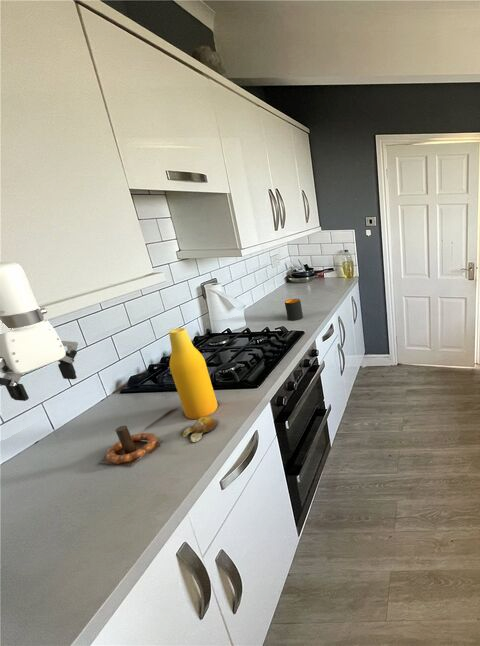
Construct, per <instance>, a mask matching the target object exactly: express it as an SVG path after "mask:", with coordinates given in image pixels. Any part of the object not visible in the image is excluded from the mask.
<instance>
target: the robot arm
mask: <svg viewBox="0 0 480 646" xmlns="http://www.w3.org/2000/svg"><path fill="white" fill-rule="evenodd" d="M47 313H48V310H47V308H45V307H39V304H38V302H37V299H36V296H35V294H34V293H33V290H32V287H31V284H30V281H29V280H28V277H27V275H26V272H25V270H24V268H23V267H22V265H20V264H19V263H18V262H13V261H0V320H1V321H2V323H4V324H5V325H6V326H7V327H8V328H11V329H10V330H12V328H13V329H17V330H14V331H9V332H6V333H3V334H0V374H3V376H2V377H1V376H0V385H1V386H3V387H5V388H6V390H7V393H8V394H9V396H10V399H13V400H14V401H22V402H26V401H29V399H30V397H29V395H28V393H27V391H26V388H25V386H24V385H23V383H19V382H20V381H21V378H22V376H23V374H27V373H29V372H32V371H35V370H37V369H41V368H43V367H46V366H48V365H51V364H53V363H56V362H58V365H57V367H58V369H59V371H60V374H61V376H62V379H64V380H76V379H77V378H78V377H77V374H76V373H77V372H76V369H75V367H74V363H75V358H76V355H77V354H78V351H77V350H78V346H79V343H78V342H77V341H72V340H71V341H70V340H69V341H67V340H61V338H60V336H59V335H58V333H57V331H56V330H55V327H54V326H53V325H52V324H51V323H50V321H49V320H48V319H44V318H45V316H44V315H45V314H47ZM44 320H46V321H44ZM24 326H26V327H24ZM65 347H66V349H67V350H66V349H65Z"/></svg>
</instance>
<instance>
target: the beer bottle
mask: <svg viewBox="0 0 480 646" xmlns="http://www.w3.org/2000/svg"><path fill="white" fill-rule="evenodd" d="M168 336H169V342H170V347H171V354H170V358H169V370H170V373H171V376H172V379H173V382H174V386H175V388H176V391H177V394H178V397H179V400H180V404H181V406H182V410H183V413H184V416H185V417H186V418H187V419H189V420H198V419H199V418H202V417H209V416H210V415H212V414H213V413H215V412H216V410H217V409H218V401H217V398H216V395H215V391H214V387H213V384H212V380H211V377H210V374H209V371H208V367H207V363H206V360H205V358H204V356H203V354H202V352H200V351H199V350H198V349H197V348H196V347H195V346H194V344H193V342H192V340H191V338H190V335H189V333H188V331H187V329H186V328H185V327H177V328H173V329H171V330H169V331H168Z"/></svg>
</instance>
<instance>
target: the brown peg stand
mask: <svg viewBox="0 0 480 646" xmlns="http://www.w3.org/2000/svg"><path fill="white" fill-rule="evenodd" d="M114 431H115V433H116V436H117V438H118V441H120V443H121V445H122V447H123V448H121V449H120V450H118V451H117V453H116V455H125V454H129V453H132V452H134V451H136V450H139V449H140V448H142V447H143V446H144V445H146V444H147V442H148V441H147V440H141V441H136V442H133V440H132V438H131V432H130V430H129V427H128V426H127V425H120V426H118V427H117V428H115V430H114ZM160 447H161V444H160V442H159V441H157V443H156V444H155V446H154V448H153V449H151V450H150V451H149V452H148V453H146V454H145V455H147V454H153V453H154V452H155V451H156V450H158V449H159V448H160ZM145 455H143V456H141V457H139V458H137V459H135V460H133V461H129V462H125V463H120V464H117V463H109V462H108V461H107V460H106V458H105V459H104V460H103V461H101V462H100V464H101V465H109V466H111V465H113V466H121V467H123V466H124V467H132V466H133V465H134V464H135V463H136V462H138V461H139V460H141V459H142V458H143V457H144V456H145Z"/></svg>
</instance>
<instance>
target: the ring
mask: <svg viewBox="0 0 480 646" xmlns="http://www.w3.org/2000/svg"><path fill="white" fill-rule="evenodd" d="M130 435H131V434H130ZM131 438H132V440H133V442H136V441H147V444H146V445H144V446H143V447H142V448H140V449H139V450H136V451H134V452H132V453H129V454H125V455H116V453H117V451H118V450H120V449H121V448H123V447H122V445H121V443H120V440H118V441H117V442H116V443H114V444H112V445H111V446H110V447H109V448H108V450H107V451H106V452H105V454H104V458H105V459H106V460H107V461H108V462H109V463H117V464H120V463H125V462H129V461H133V460H135V459H137V458H139V457H141V456H143V455H144V456H145V455H147V454H149V453H148V452H149V451H150V450H151V449H153V448H154V446H155V444H156V443H157V442H158V441H159V440H158V437H157V436H156V435H155V434H154V433H151V432H140V433H135V434H132V435H131ZM146 453H147V454H146ZM144 456H143V457H144Z"/></svg>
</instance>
